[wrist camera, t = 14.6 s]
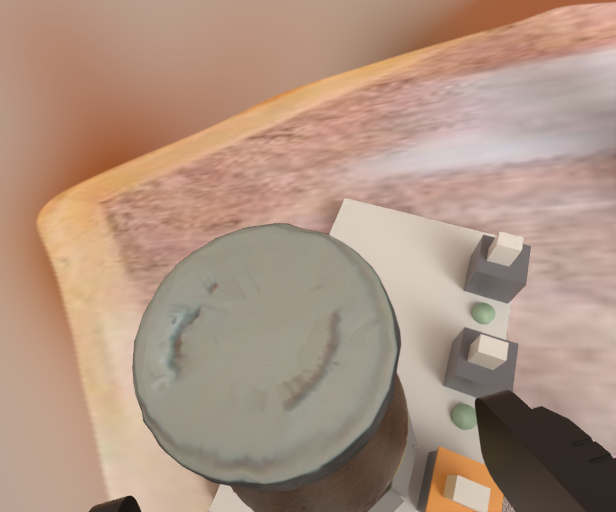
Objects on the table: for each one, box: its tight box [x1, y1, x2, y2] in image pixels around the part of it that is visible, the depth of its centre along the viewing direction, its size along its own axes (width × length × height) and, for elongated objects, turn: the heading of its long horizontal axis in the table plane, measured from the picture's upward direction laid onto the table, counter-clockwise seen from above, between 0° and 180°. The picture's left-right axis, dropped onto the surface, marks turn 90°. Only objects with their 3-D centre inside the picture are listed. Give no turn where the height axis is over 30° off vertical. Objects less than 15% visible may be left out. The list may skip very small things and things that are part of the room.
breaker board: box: [208, 198, 531, 512], centre depth 23 cm, size 24×14×7 cm, turn 158°
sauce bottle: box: [132, 223, 409, 512], centre depth 14 cm, size 6×6×20 cm
